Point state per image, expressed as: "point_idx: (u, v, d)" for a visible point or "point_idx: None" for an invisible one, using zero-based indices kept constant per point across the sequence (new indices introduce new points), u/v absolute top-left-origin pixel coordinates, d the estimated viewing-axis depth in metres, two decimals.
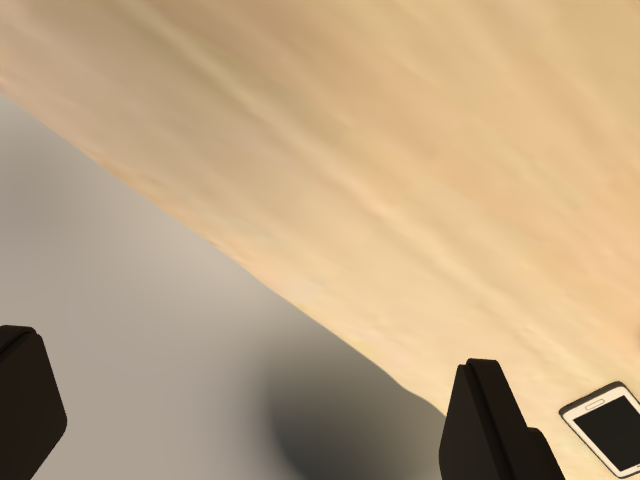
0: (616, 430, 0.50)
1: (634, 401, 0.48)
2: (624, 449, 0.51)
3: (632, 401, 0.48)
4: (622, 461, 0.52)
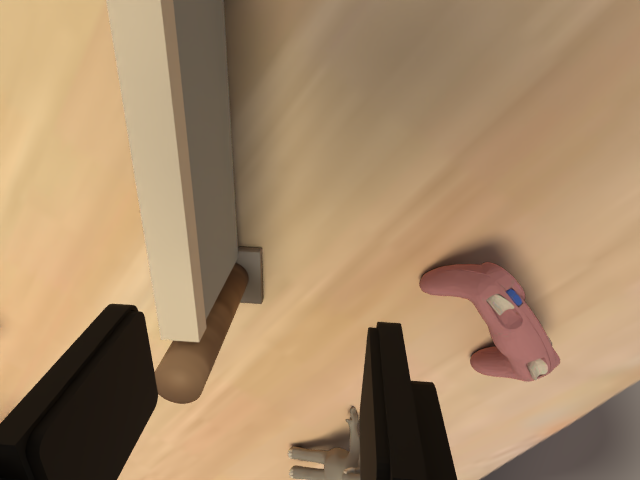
0: None
1: None
2: None
3: None
4: None
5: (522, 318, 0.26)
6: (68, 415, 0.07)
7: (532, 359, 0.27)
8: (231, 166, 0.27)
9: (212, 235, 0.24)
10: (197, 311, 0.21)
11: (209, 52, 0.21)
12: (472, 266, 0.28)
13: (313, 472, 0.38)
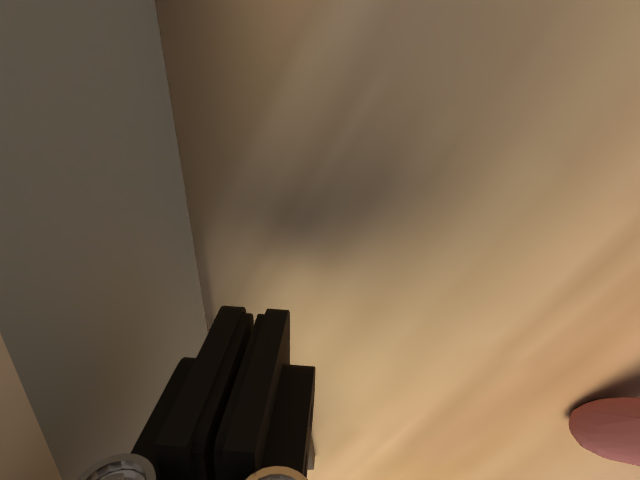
0: None
1: None
2: None
3: None
4: None
5: None
6: (217, 417, 0.07)
7: None
8: (195, 286, 0.15)
9: None
10: None
11: (110, 97, 0.09)
12: None
13: None
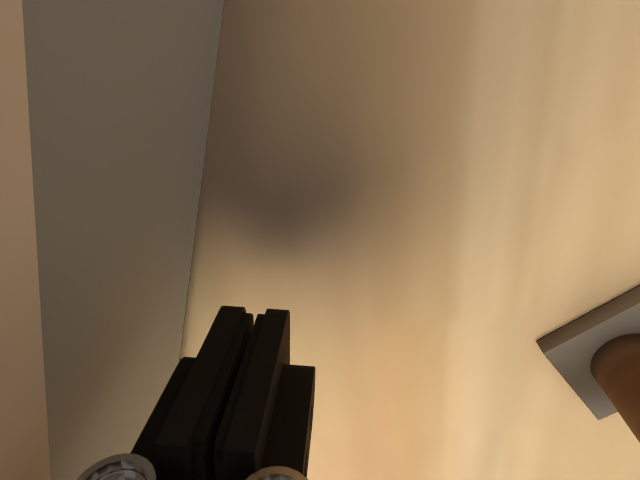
0: None
1: None
2: None
3: None
4: None
5: None
6: (217, 417, 0.07)
7: None
8: (186, 275, 0.15)
9: (115, 444, 0.12)
10: None
11: (171, 85, 0.09)
12: None
13: None
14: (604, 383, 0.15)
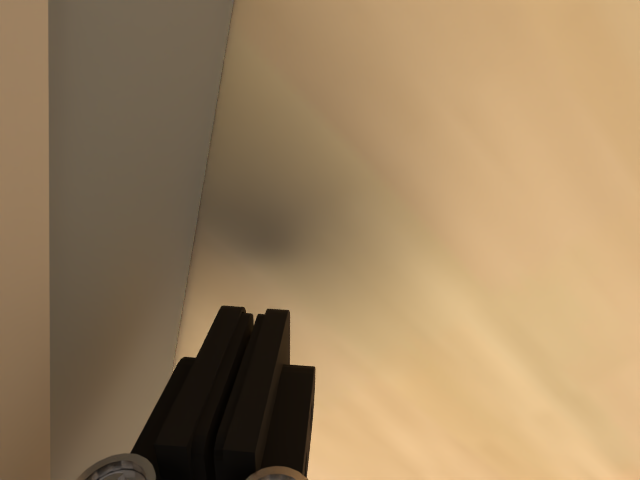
0: None
1: None
2: None
3: None
4: None
5: None
6: (217, 416, 0.07)
7: None
8: (186, 269, 0.15)
9: (111, 436, 0.12)
10: None
11: (181, 77, 0.09)
12: None
13: None
14: None
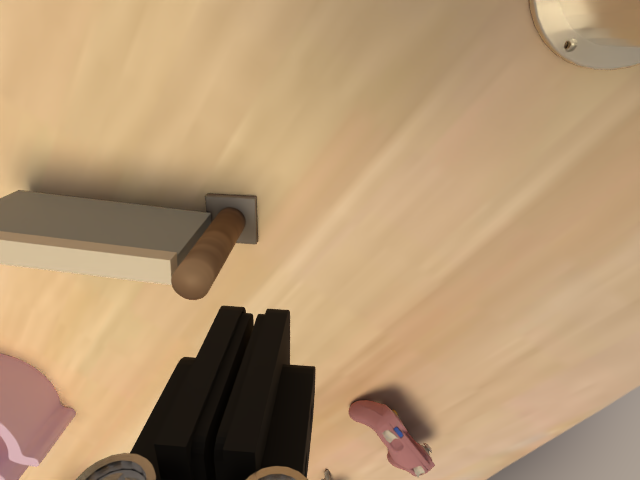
0: None
1: None
2: None
3: None
4: None
5: (403, 444, 0.43)
6: (217, 417, 0.07)
7: (412, 467, 0.44)
8: None
9: None
10: None
11: None
12: (377, 407, 0.45)
13: None
14: None
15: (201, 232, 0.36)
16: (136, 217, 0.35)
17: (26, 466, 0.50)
